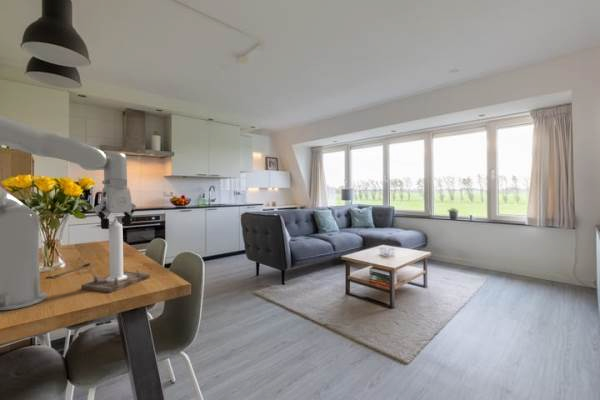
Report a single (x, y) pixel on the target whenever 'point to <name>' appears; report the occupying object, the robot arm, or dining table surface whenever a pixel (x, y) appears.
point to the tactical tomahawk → (68, 271)
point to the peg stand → (116, 285)
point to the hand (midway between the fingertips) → (116, 227)
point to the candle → (116, 251)
